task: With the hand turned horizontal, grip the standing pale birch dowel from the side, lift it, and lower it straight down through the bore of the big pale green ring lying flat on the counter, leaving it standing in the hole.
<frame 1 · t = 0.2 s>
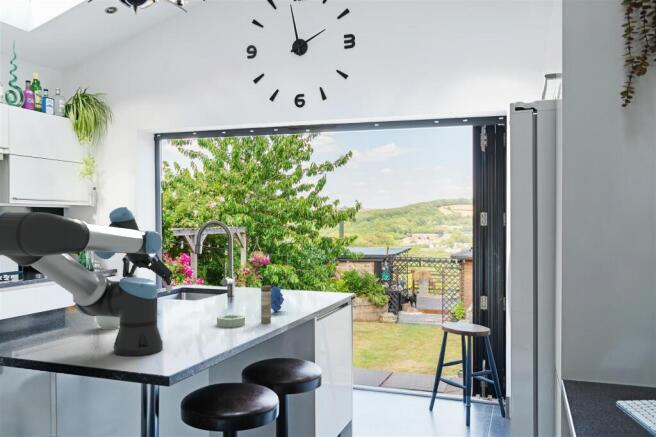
hand: (154, 290, 210), 15 cm above the countertop, tool tilted 35°, fingers open, 13 cm apart
lidded jar: (110, 328, 214), on the countertop
grapes: (277, 312, 251), on the countertop
birch dowel: (265, 322, 227), on the countertop
pale green ring: (230, 324, 222), on the countertop
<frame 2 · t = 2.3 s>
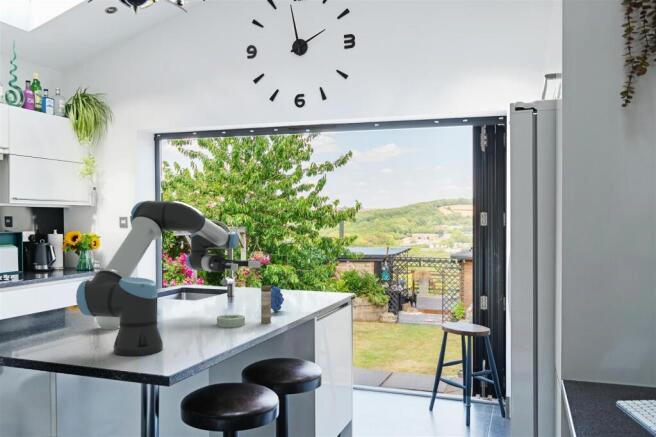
hand: (248, 266, 232), 23 cm above the countertop, tool horizontal, fingers open, 13 cm apart
nothing on the countertop moved.
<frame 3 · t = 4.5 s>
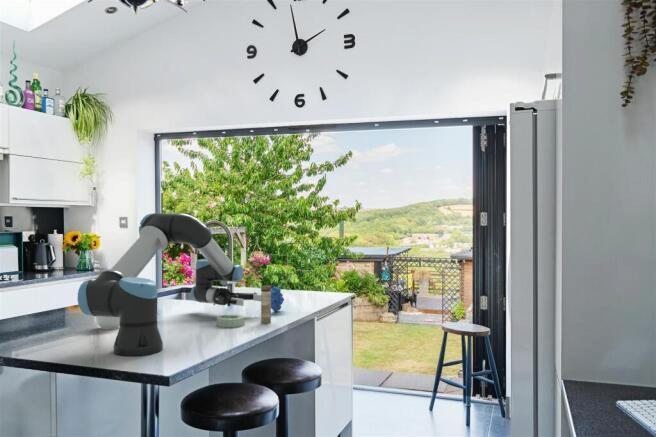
hand: (254, 300, 231), 8 cm above the countertop, tool horizontal, fingers open, 13 cm apart
nothing on the countertop moved.
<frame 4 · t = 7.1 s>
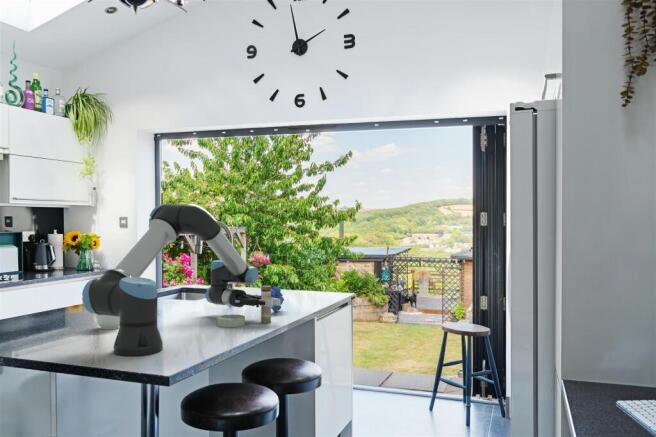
hand: (275, 303, 224), 9 cm above the countertop, tool horizontal, fingers closed on birch dowel, 4 cm apart
birch dowel: (265, 322, 227), on the countertop, touching gripper
everything else where it was.
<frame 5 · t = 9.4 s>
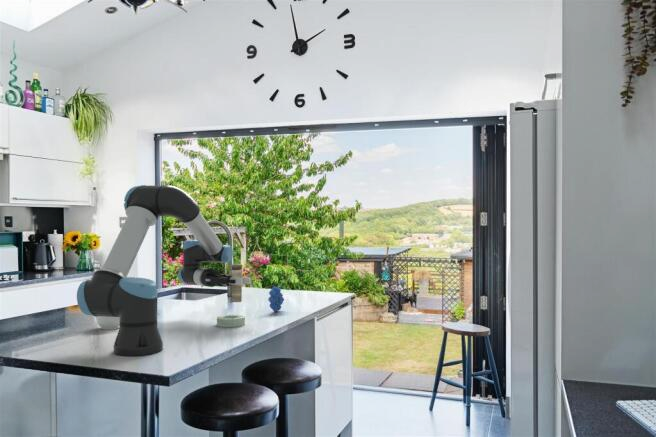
hand: (246, 281, 220), 18 cm above the countertop, tool horizontal, fingers closed on birch dowel, 4 cm apart
birch dowel: (236, 301, 223), point 9 cm above the countertop, touching gripper
everything else where it was.
when the fingers open (10 cm above the countertop, at t = 11.8 s): birch dowel drops 1 cm, resting in pale green ring.
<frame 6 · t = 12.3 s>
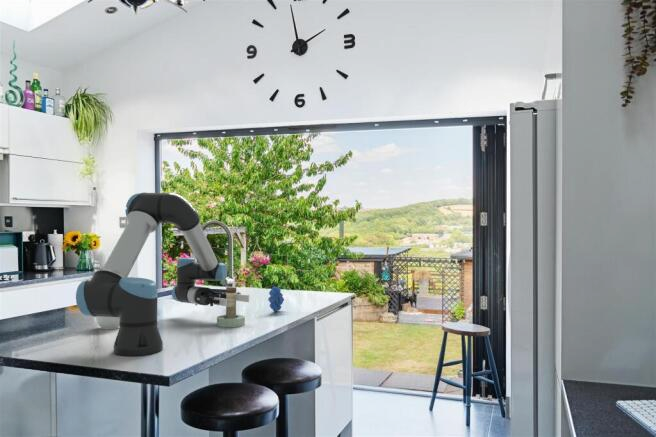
hand: (237, 300, 220), 10 cm above the countertop, tool horizontal, fingers open, 12 cm apart
birch dowel: (230, 324, 222), resting in pale green ring
everything else where it was.
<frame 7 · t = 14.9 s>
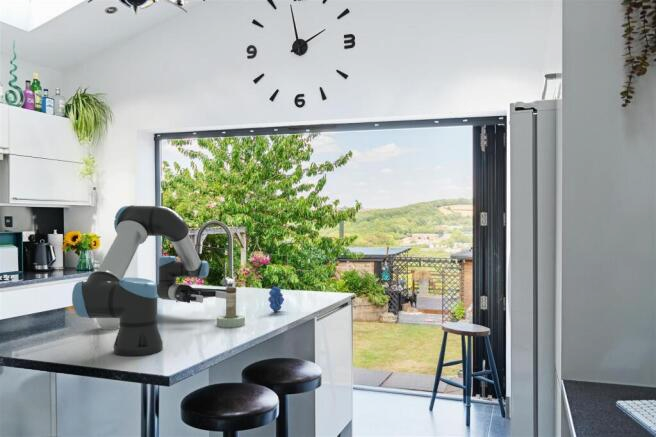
hand: (215, 297, 228), 10 cm above the countertop, tool horizontal, fingers open, 13 cm apart
nothing on the countertop moved.
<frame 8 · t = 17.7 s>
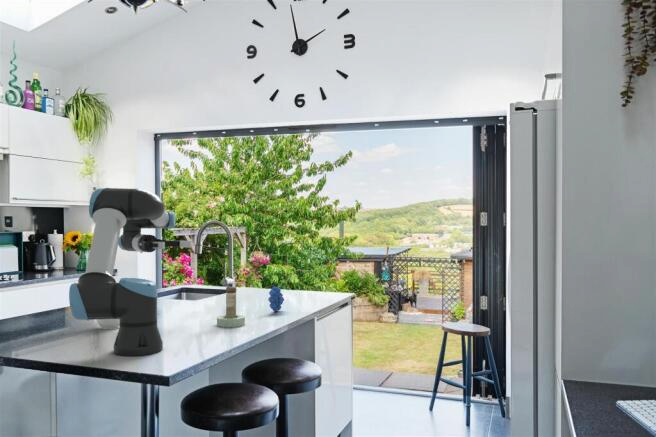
hand: (177, 245, 224), 32 cm above the countertop, tool horizontal, fingers open, 13 cm apart
nothing on the countertop moved.
at the end: birch dowel 0.1 cm off-centre on the pale green ring, point 0.0 cm above the pale green ring's base; birch dowel tilted 0°; the gripper is holding nothing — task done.
